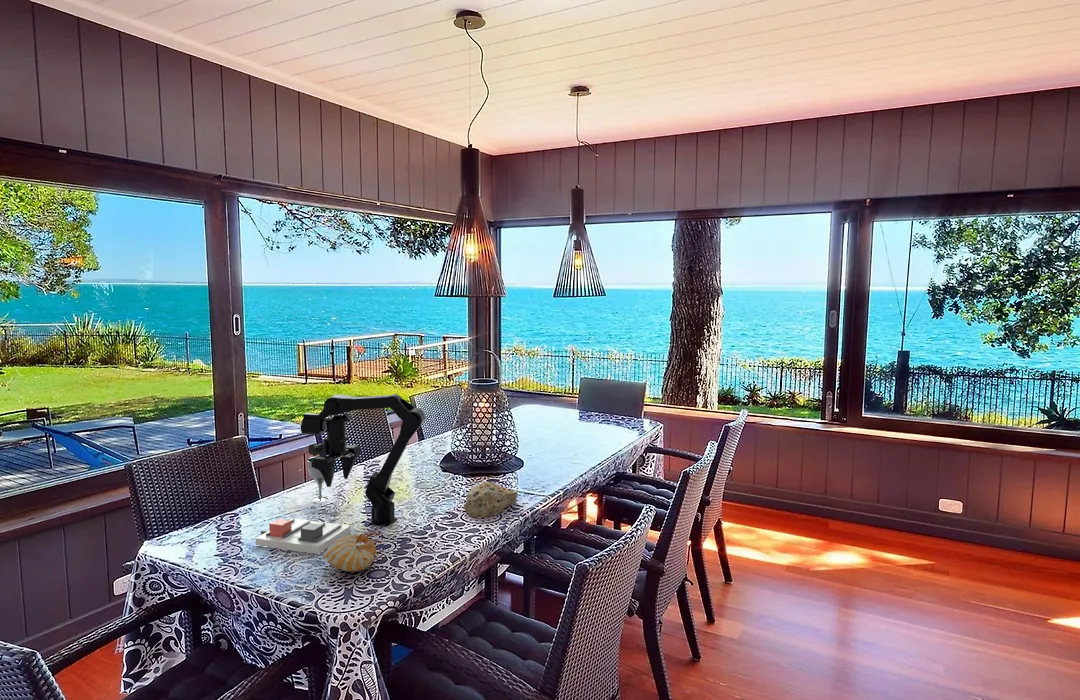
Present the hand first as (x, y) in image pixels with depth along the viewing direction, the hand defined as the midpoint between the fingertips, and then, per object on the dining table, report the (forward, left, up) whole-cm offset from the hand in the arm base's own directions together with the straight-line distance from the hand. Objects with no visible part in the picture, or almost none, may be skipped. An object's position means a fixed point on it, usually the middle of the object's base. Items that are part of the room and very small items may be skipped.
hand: (337, 482), depth 190 cm
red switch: (+7, +18, -10) cm, 22 cm away
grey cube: (-4, +19, -10) cm, 22 cm away
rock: (-43, -25, -13) cm, 52 cm away
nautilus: (-23, +24, -13) cm, 36 cm away
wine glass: (+18, -16, -13) cm, 27 cm away
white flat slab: (+4, +15, -13) cm, 20 cm away
